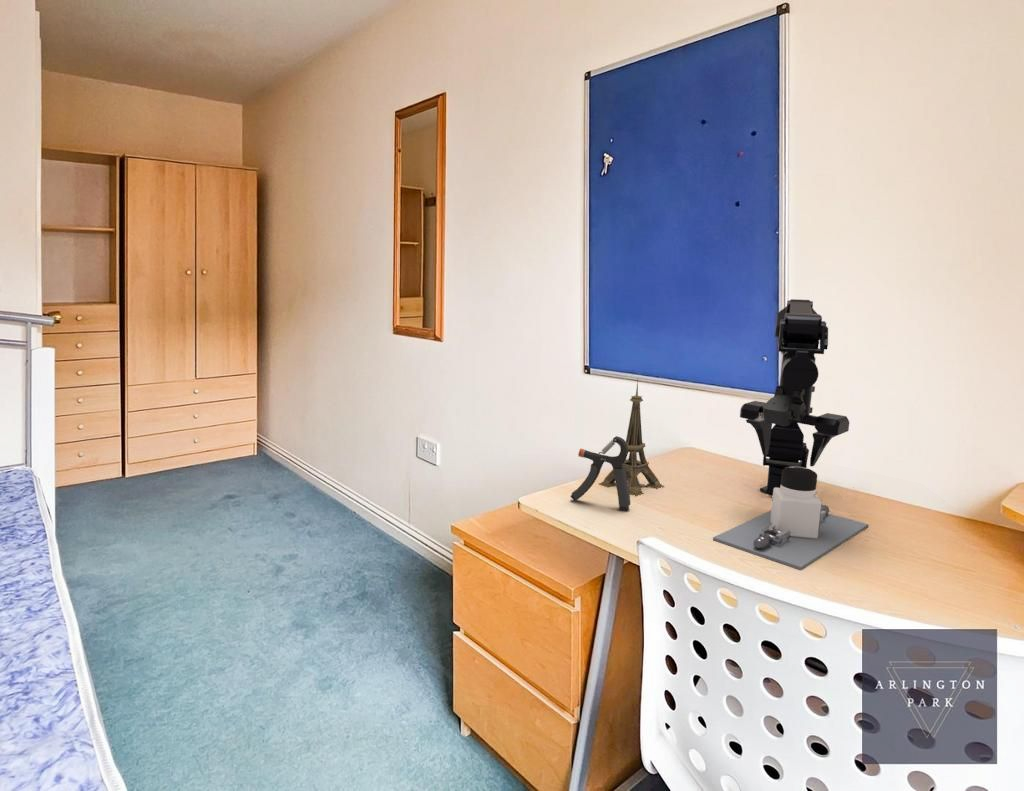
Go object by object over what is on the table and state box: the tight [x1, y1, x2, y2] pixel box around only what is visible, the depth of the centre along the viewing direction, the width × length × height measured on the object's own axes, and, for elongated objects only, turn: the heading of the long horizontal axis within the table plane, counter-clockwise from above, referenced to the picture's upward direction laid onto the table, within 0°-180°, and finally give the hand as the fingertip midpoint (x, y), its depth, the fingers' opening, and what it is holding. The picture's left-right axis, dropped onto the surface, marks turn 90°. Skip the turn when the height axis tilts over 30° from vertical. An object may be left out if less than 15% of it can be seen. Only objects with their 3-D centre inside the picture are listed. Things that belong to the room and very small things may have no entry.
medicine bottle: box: [770, 466, 823, 539], centre depth 121 cm, size 7×7×12 cm
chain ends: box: [753, 504, 830, 550], centre depth 122 cm, size 29×4×2 cm, turn 132°
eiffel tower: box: [598, 378, 665, 497], centre depth 146 cm, size 11×11×25 cm
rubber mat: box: [712, 509, 869, 571], centre depth 122 cm, size 30×16×1 cm, turn 132°
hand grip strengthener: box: [570, 435, 631, 512], centre depth 133 cm, size 2×12×15 cm, turn 65°
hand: (788, 460), depth 125 cm, fingers open, 9 cm apart
